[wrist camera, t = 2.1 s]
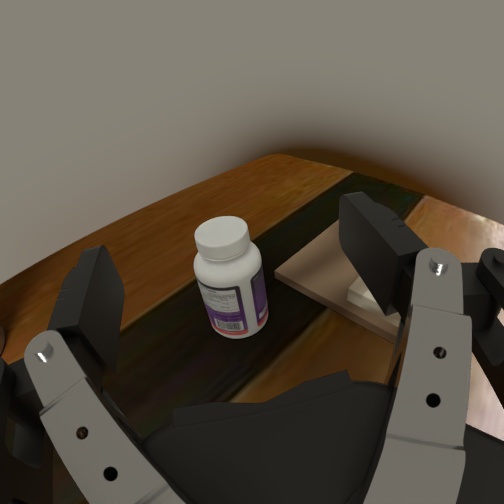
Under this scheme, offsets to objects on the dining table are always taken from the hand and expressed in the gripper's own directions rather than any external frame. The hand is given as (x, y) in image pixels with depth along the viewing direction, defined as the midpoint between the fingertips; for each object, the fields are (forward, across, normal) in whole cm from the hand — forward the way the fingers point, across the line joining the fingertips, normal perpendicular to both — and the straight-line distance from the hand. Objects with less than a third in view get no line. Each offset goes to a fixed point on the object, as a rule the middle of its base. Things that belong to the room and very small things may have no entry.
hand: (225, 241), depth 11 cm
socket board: (+12, -14, +16) cm, 25 cm away
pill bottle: (+12, 0, +17) cm, 20 cm away
